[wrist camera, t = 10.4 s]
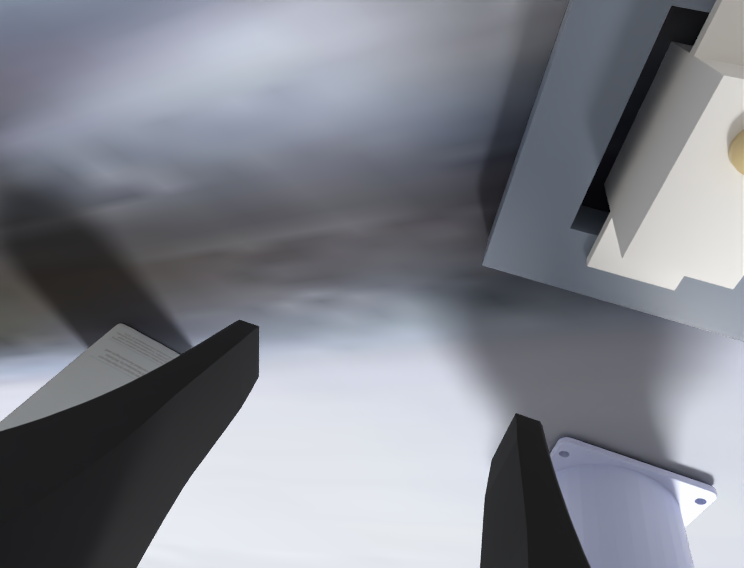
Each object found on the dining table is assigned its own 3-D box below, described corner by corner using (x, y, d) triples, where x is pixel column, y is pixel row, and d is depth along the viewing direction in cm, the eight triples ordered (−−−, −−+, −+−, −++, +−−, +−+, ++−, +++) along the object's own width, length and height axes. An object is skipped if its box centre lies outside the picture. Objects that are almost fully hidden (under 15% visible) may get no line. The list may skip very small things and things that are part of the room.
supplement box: (118, 318, 32) (-76, 477, 22) (213, 370, 32) (61, 553, 22) (114, 380, 37) (-49, 535, 27) (197, 426, 37) (65, 598, 27)
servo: (659, 249, 19) (696, 349, 14) (582, 229, 19) (593, 319, 14) (817, -14, 13) (969, -1, 9) (706, -33, 14) (790, -31, 9)
